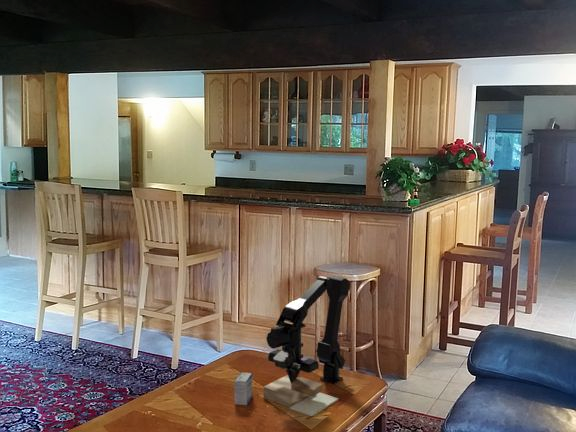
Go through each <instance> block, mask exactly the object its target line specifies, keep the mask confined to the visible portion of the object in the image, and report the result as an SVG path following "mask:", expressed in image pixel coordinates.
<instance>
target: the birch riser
mask: <svg viewBox="0 0 576 432" xmlns="http://www.w3.org/2000/svg"><path fill="white" fill-rule="evenodd" d="M298 378H299V377H297V379H298ZM308 397H309V395H306V394H303V393H301V392H298V391H295V390H292V389H291V382H290V379H289V377H288V374H286V375H285V376H282V377H280V378H278V379H276V380H274V381H273V382H270V383H269V384H267V385H264V386H263V399H267V400H269V401H272V402H275V403H278V404H281V405H284V406H286V407H289V408H290V407H292V406H293V405H295V404H297V403H299V402H300V401H302V400H304V399H306V398H308Z"/></svg>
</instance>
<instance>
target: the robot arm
mask: <svg viewBox="0 0 576 432" xmlns="http://www.w3.org/2000/svg"><path fill="white" fill-rule="evenodd" d="M350 288H351V283H350V281H349V279H347V278H346V277H345V278H344V277H339V276H335V275H331V277H327V276H325V275H324V276H323V275H319V276H318V277H317V278H316V280H315V282H313V284H311V285H310V286H309V288H308V289H307V290H305V292H304V293H303V294H302V295H301V296H299V298H298V299H295V300H292V301H290V302H288V304H286V305H285V306H284V307H283V309H282V311H281V313H280V316H279V318H278V320H277V322H276V326H277V327H271V328H270V332H268V333H267V335H266V338H265V339H266V342H267V345H268V347H270V349H274V350H273V351H271V352H269V353H268V355H267V361H269V362H272V363H274V366H275V367H276V368H277V367H278V368H281V369H283V370H285V372H286V375H288V377H289V379H290V382H291V383H292V382H293V381H295V380H296V379H297V378H299V374H300V373H301V371H302V372H303V373H307V374H309V373H312V372H314V371H315V370H316V371H317V370H318V369H319V367H320V364H323V371H322V372H323V373H322V375H323V376H322V377H320V379H319V380H320V381H322V382H326V383H328V384H333V385H335V384H336V383H339V382H341V381H342V380H343V379H344V377H342V376H340V374H341V373H340V368H343V366H345V362H346V360H345V358H344V357H343V356H342V355H341V346H340V343H339V340H338V338H339V337H338V336H339V329H340V323H341V315H342V309H343V302H344V301H345V299H346V298H347V297H348V295H349V291H350ZM324 293H326V294H327V297H328V300H329V301H328V309H327V315H326V322H325V328H324V336H323V338H322V339H321V341H318V342H317V345H316V351H315V353H316V357H317V358H318V360H316V359H312V358H307V359H303V358H304V354H302V348H303V347H304V342H302V329H304V328H306V324H305V323H303V322H304V321H305V319H306V318H307V316H308V314H309V313H308V312H309V309H310V308H311V307H313V306H312V305H314V304H315V302H317V300H318V299H319V298H321V296H323V294H324ZM280 347H281V349H278V348H280Z"/></svg>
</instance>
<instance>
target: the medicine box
mask: <svg viewBox="0 0 576 432" xmlns="http://www.w3.org/2000/svg"><path fill="white" fill-rule="evenodd" d="M233 383H234V386H233V387H234V405H237V406H238V405H241V406H247V405H248V404H249V402H250V401H251V400H252V398H253V373H251V372H240V373H239V375H238V376H237V378H236V379H235V380H234V382H233Z"/></svg>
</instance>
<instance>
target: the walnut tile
mask: <svg viewBox="0 0 576 432" xmlns="http://www.w3.org/2000/svg"><path fill="white" fill-rule="evenodd" d="M297 378H298V379H296V380H295V381H293V382H292V383H291V389H292V390H295V391H298V392H301V393H303V394H306V395H309V396H312V397H314V396H315V395H317V394H318V393H319V392H320V393H322V391H323V383H320V382H317V381H314V380H311V379H308V378H305V377H303V376H298V377H297Z"/></svg>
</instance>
